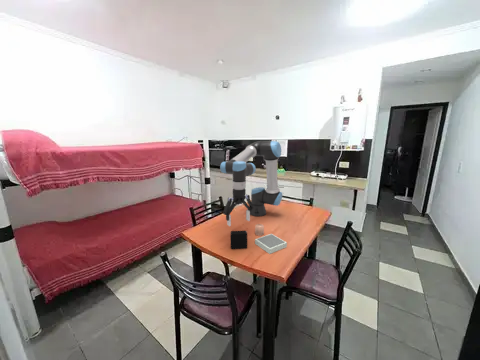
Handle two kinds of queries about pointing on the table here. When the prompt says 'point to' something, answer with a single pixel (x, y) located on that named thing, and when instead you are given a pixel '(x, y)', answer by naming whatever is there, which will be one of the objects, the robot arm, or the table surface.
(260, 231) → the pale pink rounded piece
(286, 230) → the table surface
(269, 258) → the table surface
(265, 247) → the stand
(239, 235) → the electronic device
